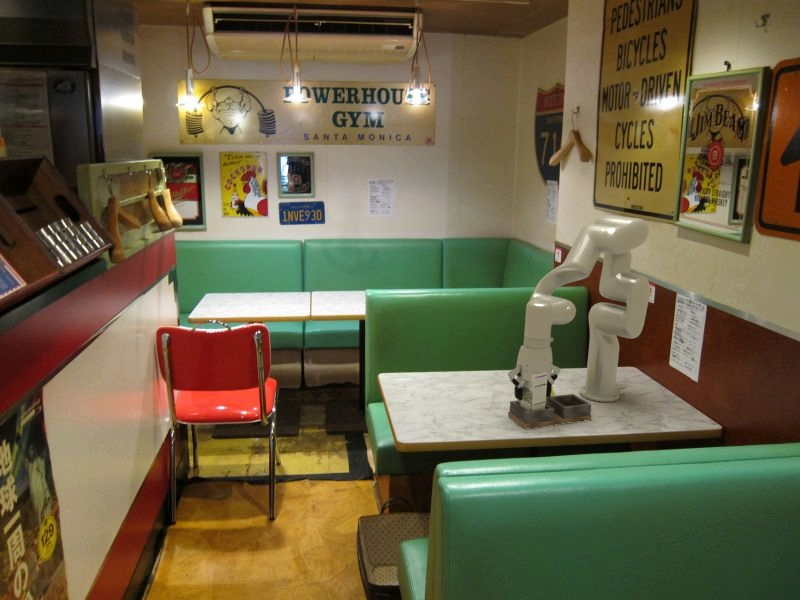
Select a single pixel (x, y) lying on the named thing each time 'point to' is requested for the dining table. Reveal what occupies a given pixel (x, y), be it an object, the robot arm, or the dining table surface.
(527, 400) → the syrup box
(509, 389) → the dining table surface
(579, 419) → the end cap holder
